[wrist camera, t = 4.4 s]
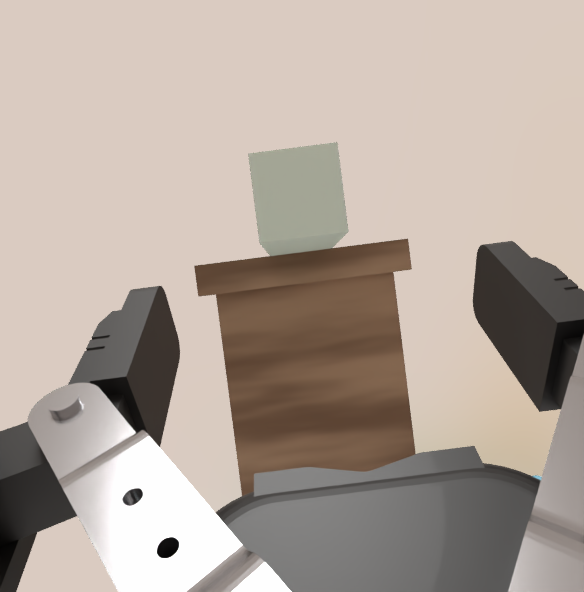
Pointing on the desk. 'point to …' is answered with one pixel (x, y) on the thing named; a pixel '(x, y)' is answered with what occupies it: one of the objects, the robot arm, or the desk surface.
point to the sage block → (298, 198)
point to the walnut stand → (314, 358)
